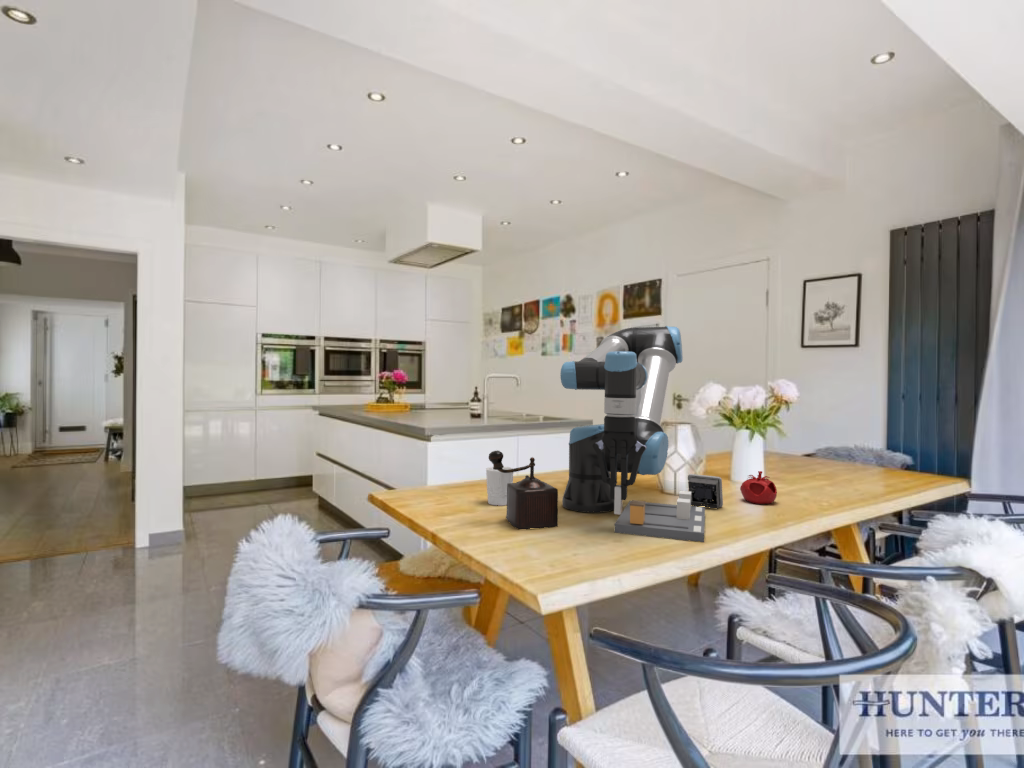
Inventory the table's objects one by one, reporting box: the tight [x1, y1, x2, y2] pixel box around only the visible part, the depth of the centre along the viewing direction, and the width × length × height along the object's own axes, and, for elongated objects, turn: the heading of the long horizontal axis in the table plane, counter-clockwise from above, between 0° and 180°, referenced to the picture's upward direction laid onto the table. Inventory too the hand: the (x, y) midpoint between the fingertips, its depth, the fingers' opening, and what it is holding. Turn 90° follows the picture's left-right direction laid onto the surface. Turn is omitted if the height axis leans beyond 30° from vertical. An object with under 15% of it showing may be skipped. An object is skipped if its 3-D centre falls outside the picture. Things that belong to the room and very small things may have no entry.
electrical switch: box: [687, 473, 724, 510], centre depth 154 cm, size 9×5×9 cm, turn 57°
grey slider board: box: [614, 490, 706, 543], centre depth 136 cm, size 20×26×6 cm
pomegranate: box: [739, 471, 778, 505], centre depth 161 cm, size 10×10×9 cm
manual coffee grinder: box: [488, 449, 559, 530], centre depth 134 cm, size 16×11×18 cm
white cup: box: [485, 466, 514, 507], centre depth 156 cm, size 8×8×10 cm
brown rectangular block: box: [630, 499, 647, 524], centre depth 128 cm, size 3×4×5 cm
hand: (618, 512), depth 130 cm, fingers closed
